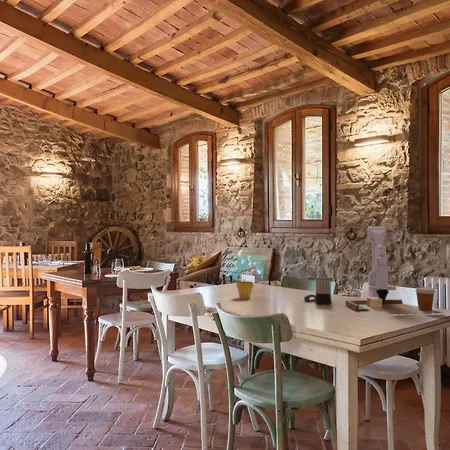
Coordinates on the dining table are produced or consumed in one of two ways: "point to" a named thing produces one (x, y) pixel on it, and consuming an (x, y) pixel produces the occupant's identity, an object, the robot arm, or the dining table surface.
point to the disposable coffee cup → (425, 298)
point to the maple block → (374, 302)
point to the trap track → (362, 306)
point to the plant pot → (244, 289)
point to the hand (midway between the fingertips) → (382, 303)
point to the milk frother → (321, 291)
